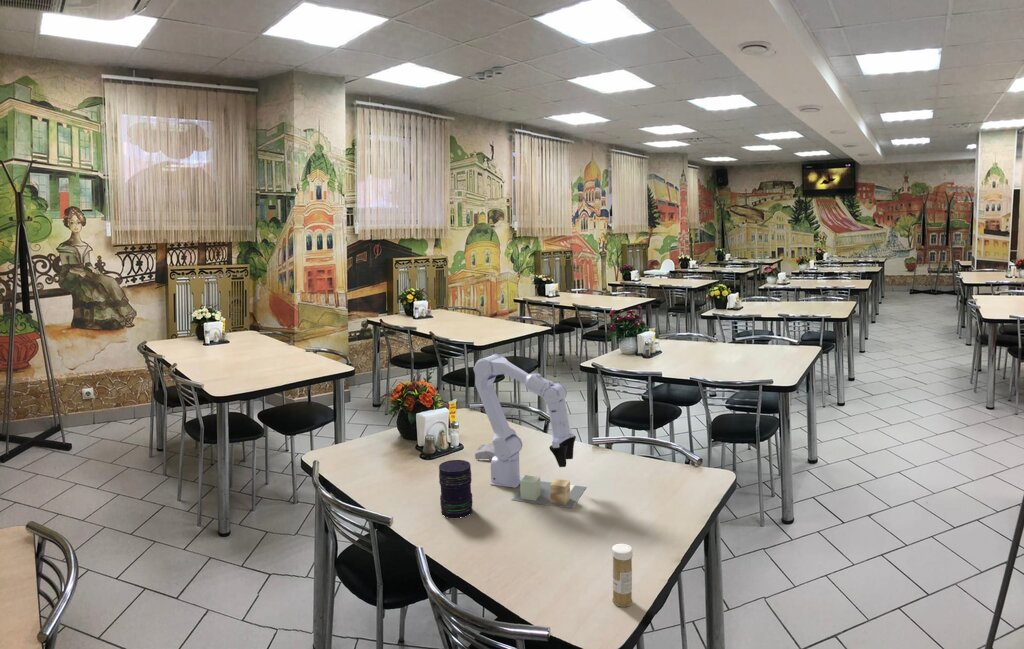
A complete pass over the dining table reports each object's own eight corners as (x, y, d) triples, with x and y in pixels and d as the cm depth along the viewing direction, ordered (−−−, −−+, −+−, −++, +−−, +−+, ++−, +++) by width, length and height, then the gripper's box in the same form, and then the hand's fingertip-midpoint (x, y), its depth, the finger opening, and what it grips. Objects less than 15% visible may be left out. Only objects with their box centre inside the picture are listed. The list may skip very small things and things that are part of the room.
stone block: (474, 465, 240) (499, 461, 238) (471, 453, 240) (497, 449, 238) (482, 455, 252) (506, 451, 250) (479, 444, 252) (503, 439, 249)
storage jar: (447, 521, 191) (445, 474, 188) (436, 509, 199) (433, 463, 197) (478, 514, 195) (476, 467, 193) (465, 502, 204) (463, 457, 202)
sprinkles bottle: (609, 598, 149) (609, 544, 147) (628, 595, 150) (628, 541, 148) (616, 609, 145) (616, 553, 143) (635, 606, 146) (635, 551, 143)
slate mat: (511, 500, 204) (511, 499, 204) (529, 480, 220) (529, 479, 220) (571, 508, 197) (571, 508, 197) (586, 487, 213) (586, 486, 212)
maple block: (550, 502, 201) (549, 484, 200) (555, 496, 206) (554, 478, 205) (565, 504, 199) (565, 486, 198) (570, 498, 204) (569, 480, 203)
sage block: (520, 498, 205) (520, 481, 204) (526, 492, 209) (525, 475, 208) (535, 500, 203) (534, 482, 202) (540, 494, 207) (540, 477, 207)
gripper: (564, 427, 197) (571, 469, 198) (577, 415, 211) (584, 454, 212) (543, 428, 200) (550, 470, 201) (557, 416, 213) (563, 455, 214)
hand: (566, 462), depth 207 cm, fingers open, 7 cm apart
